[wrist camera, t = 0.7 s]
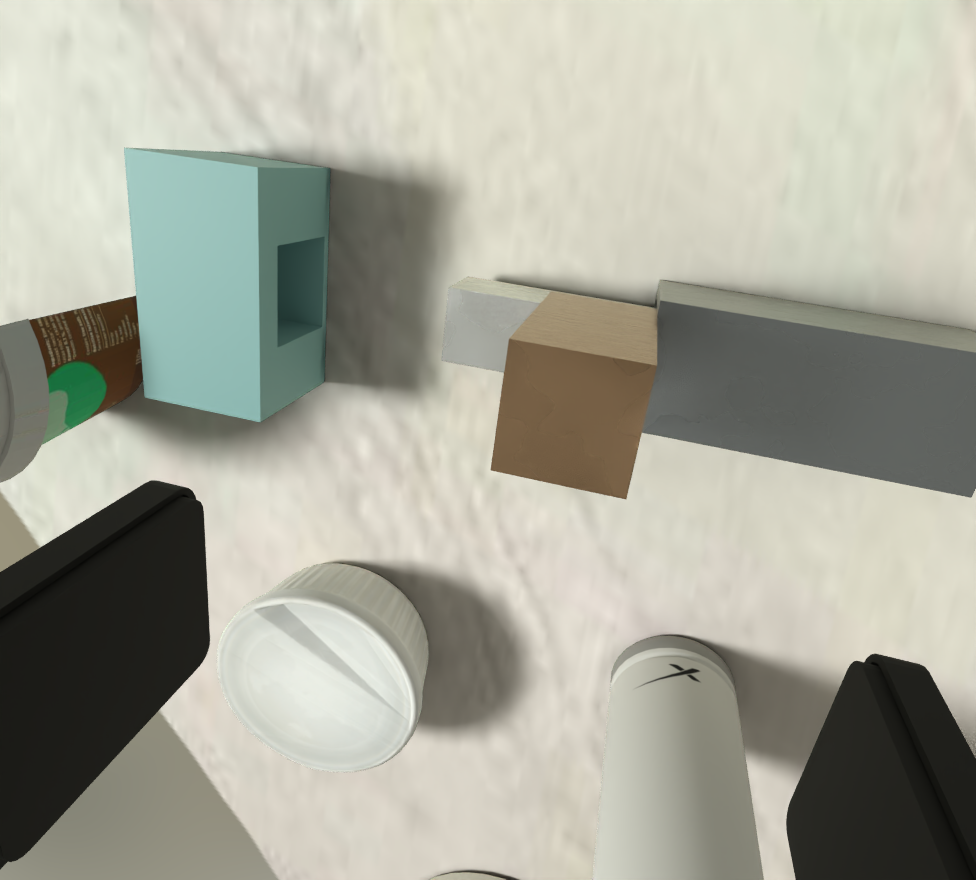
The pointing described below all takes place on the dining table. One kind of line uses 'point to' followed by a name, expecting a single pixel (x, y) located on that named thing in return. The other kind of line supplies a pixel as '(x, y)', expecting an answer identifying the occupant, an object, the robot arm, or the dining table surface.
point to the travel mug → (674, 770)
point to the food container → (63, 374)
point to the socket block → (229, 278)
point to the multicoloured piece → (559, 378)
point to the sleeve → (816, 386)
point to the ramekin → (327, 668)
